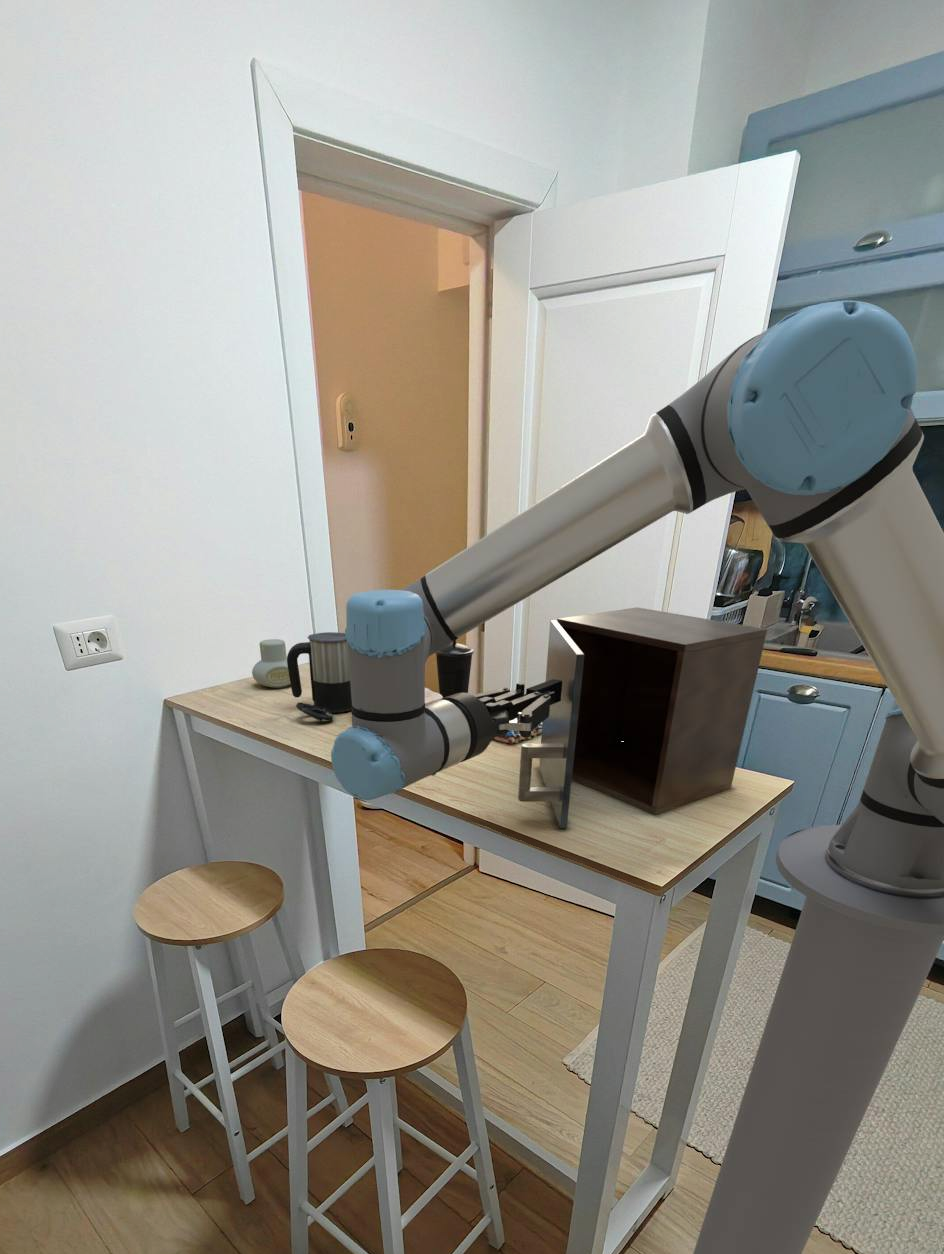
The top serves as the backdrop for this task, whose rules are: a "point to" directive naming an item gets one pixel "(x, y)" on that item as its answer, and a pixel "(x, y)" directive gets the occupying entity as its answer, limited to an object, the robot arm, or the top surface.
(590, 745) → the cupboard
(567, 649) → the cupboard door
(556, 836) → the top surface
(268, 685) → the air freshener
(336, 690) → the milk frother
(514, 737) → the woven mat
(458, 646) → the drinking cup
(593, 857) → the top surface
